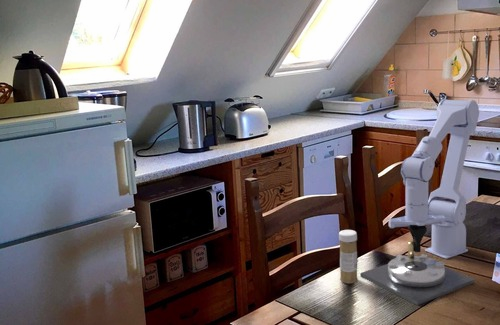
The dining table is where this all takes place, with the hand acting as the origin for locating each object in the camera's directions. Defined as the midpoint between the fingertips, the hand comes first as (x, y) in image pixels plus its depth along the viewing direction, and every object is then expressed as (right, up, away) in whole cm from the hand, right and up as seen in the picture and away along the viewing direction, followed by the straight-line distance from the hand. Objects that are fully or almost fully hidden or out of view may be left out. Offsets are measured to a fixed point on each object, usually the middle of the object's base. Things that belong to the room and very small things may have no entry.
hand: (416, 251), depth 145 cm
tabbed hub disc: (-2, -5, -5) cm, 8 cm away
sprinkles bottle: (-19, -8, -3) cm, 20 cm away
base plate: (-2, -7, -5) cm, 8 cm away
